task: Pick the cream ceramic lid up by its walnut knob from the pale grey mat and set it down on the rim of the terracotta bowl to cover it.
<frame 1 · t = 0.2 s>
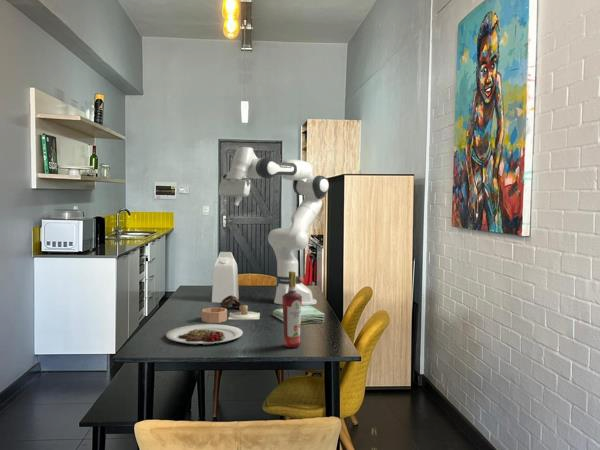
hand: (229, 205, 269), 52 cm above the table, tool tilted 20°, fingers open, 8 cm apart
milk: (225, 300, 302), on the table
towel: (298, 320, 257), on the table
lid: (244, 315, 261), point 1 cm above the table, touching mat
plated food: (204, 338, 224), on the table
mat: (244, 317, 261), on the table
bowl: (214, 321, 252), on the table
liquor: (291, 346, 211), on the table
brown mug: (231, 310, 277), on the table
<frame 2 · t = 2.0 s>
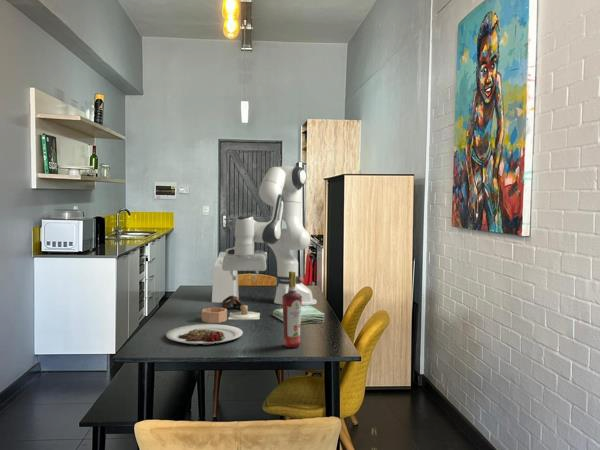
hand: (244, 280, 260), 17 cm above the table, tool pointing down, fingers open, 8 cm apart
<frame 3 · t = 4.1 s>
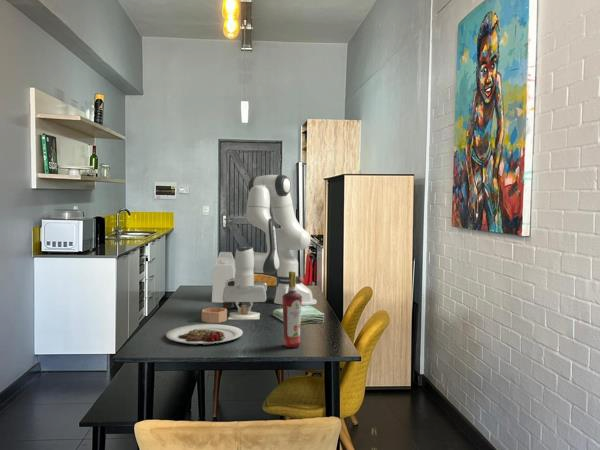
hand: (244, 311, 261), 3 cm above the table, tool pointing down, fingers closed on lid, 3 cm apart
lid: (244, 315, 261), point 1 cm above the table, touching gripper, mat
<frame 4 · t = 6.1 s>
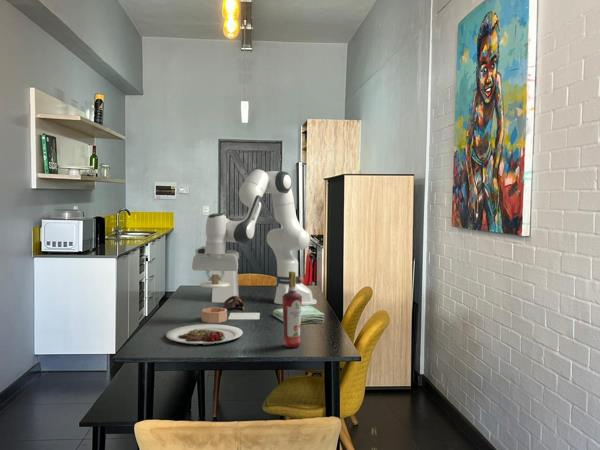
hand: (215, 280, 251), 18 cm above the table, tool pointing down, fingers closed on lid, 3 cm apart
lid: (215, 285, 251), point 16 cm above the table, touching gripper
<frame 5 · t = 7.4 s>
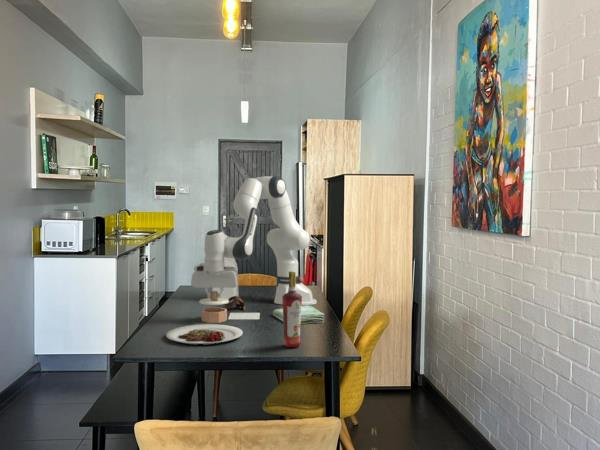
hand: (214, 297, 251), 11 cm above the table, tool pointing down, fingers closed on lid, 3 cm apart
lid: (214, 302, 251), point 8 cm above the table, touching gripper
when the fingers open (8 cm above the table, at t = 8.1 s): lid stays where it is, resting on bowl.
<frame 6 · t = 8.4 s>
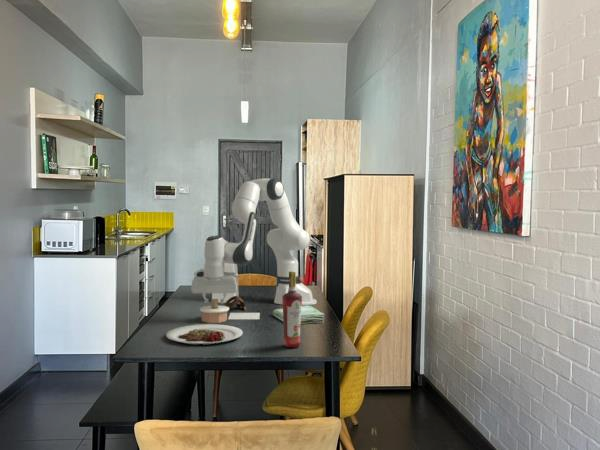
hand: (214, 303, 252), 8 cm above the table, tool pointing down, fingers open, 5 cm apart
lid: (214, 310, 252), point 5 cm above the table, touching bowl
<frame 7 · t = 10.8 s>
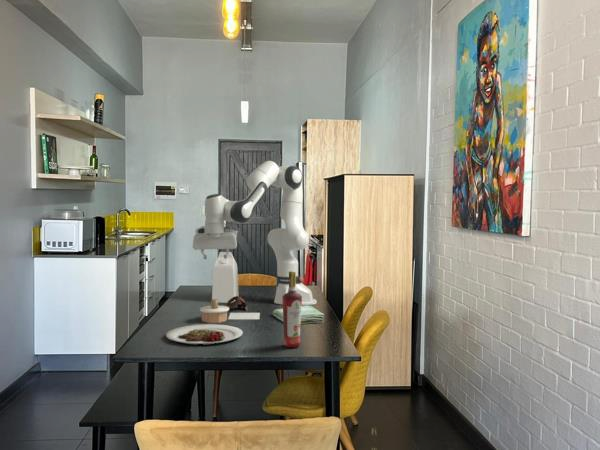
hand: (215, 258, 263), 27 cm above the table, tool pointing down, fingers open, 8 cm apart
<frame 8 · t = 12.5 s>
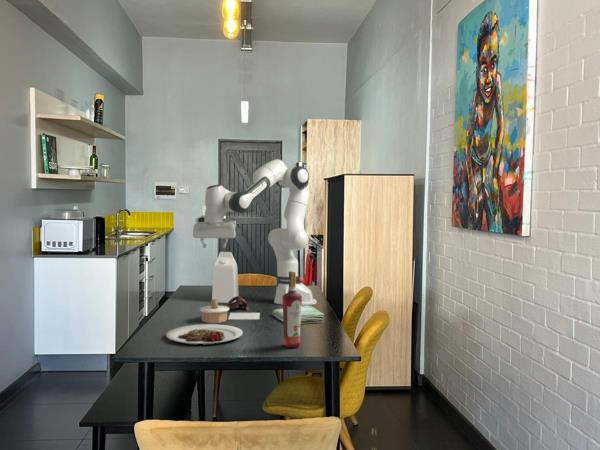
hand: (214, 247, 270), 31 cm above the table, tool pointing down, fingers open, 8 cm apart
at the end: lid 0.1 cm from the bowl (horizontally); lid point 5.0 cm above the table; lid tilted 0° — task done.
